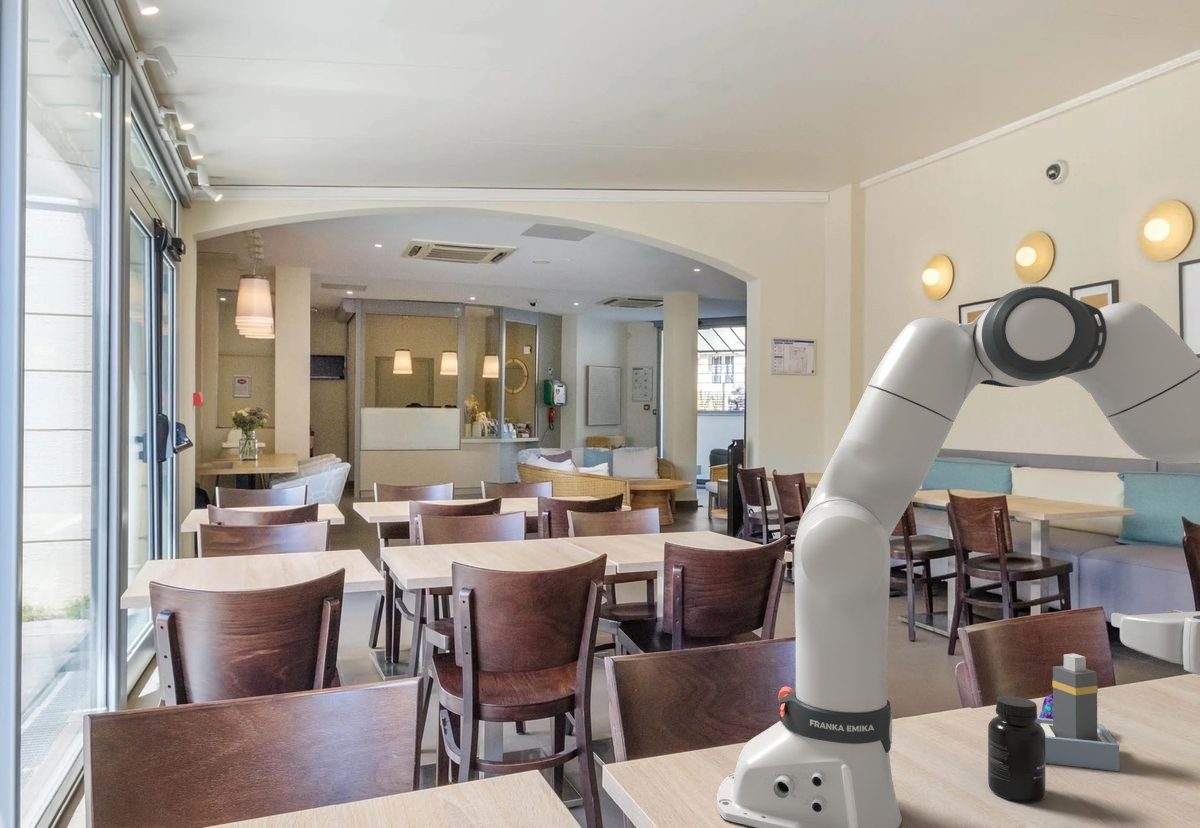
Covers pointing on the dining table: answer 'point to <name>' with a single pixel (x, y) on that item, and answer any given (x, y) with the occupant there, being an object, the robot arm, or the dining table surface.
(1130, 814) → the dining table surface
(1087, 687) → the grey bottle
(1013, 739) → the supplement bottle
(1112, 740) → the walled box
